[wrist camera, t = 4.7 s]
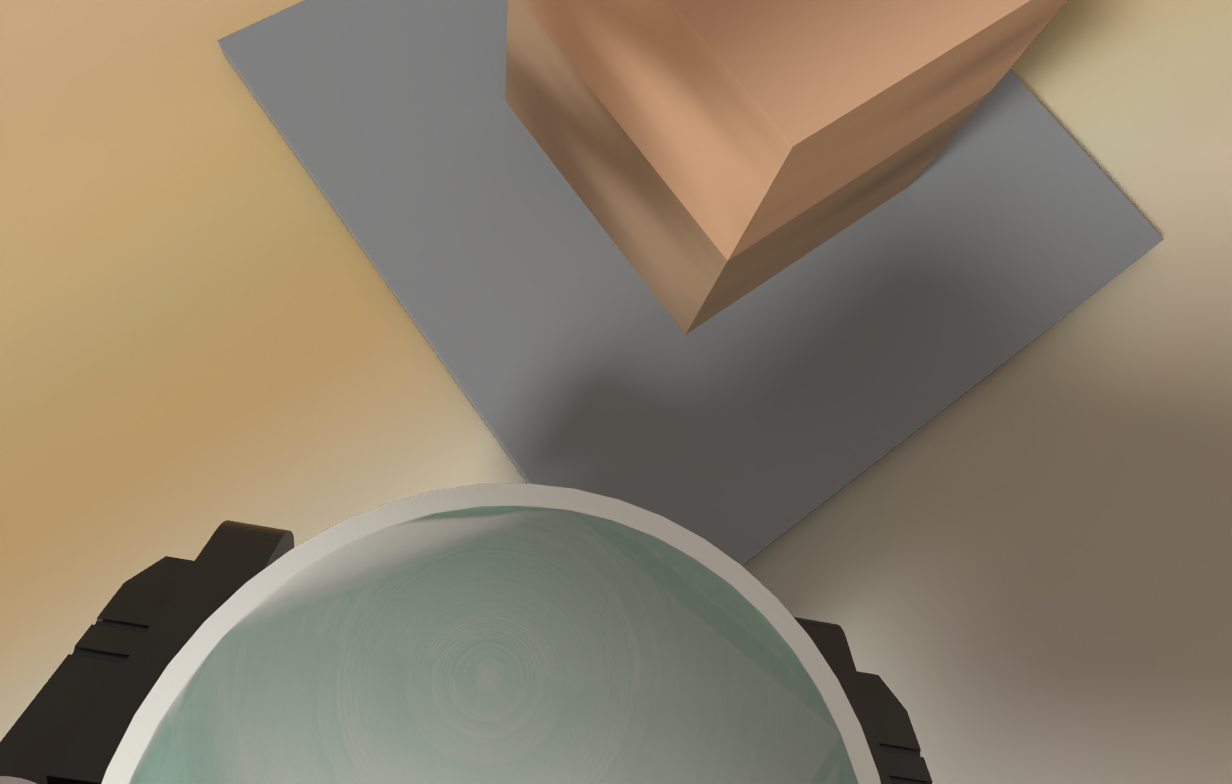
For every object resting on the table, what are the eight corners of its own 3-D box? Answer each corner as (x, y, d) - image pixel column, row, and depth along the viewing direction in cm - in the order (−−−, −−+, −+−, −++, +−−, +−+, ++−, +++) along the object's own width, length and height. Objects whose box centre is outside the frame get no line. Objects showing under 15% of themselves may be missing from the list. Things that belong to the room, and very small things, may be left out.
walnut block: (504, 100, 18) (507, -16, 15) (733, -21, 20) (778, -148, 17) (685, 334, 17) (727, 260, 14) (910, 185, 19) (990, 90, 16)
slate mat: (223, 53, 18) (217, 40, 18) (754, -194, 22) (759, -209, 22) (640, 642, 16) (643, 641, 15) (1151, 247, 20) (1164, 238, 19)
